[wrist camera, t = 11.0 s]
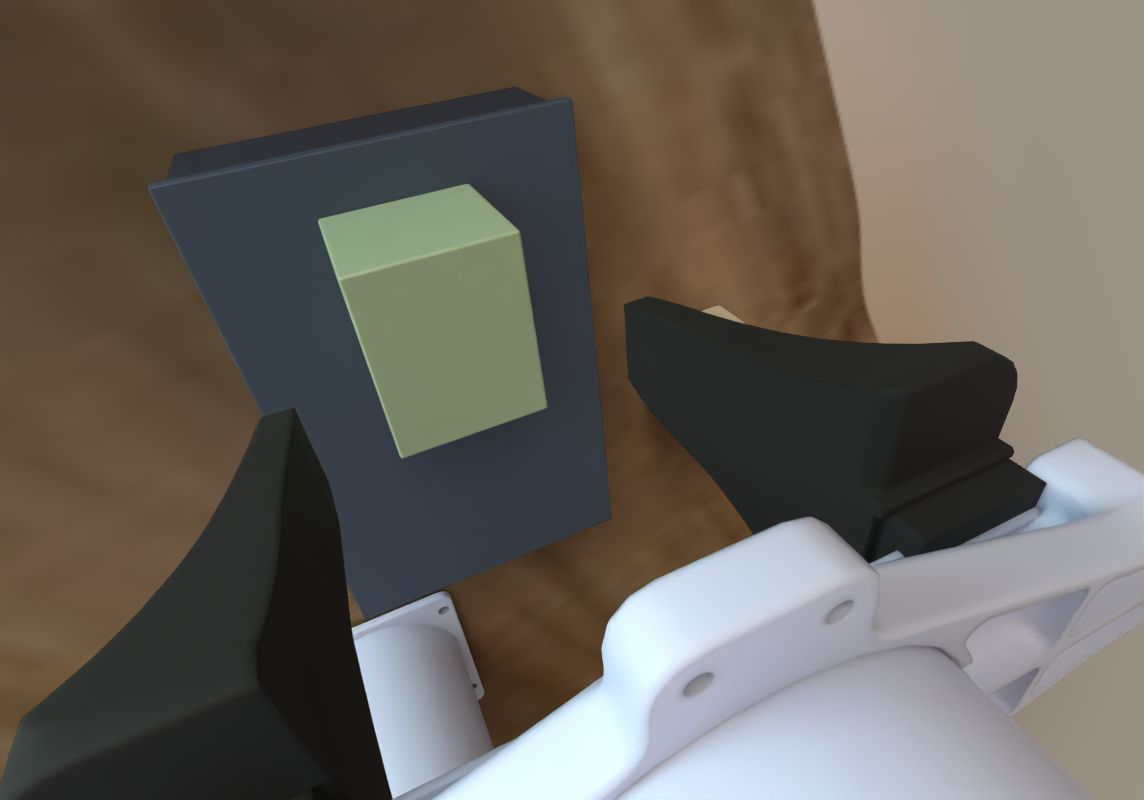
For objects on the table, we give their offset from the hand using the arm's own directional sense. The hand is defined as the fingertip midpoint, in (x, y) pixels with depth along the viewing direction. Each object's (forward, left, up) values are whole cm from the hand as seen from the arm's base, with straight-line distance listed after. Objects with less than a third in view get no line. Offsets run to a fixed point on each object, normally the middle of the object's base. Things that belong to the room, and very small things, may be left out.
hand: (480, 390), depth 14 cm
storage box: (-4, 0, -10) cm, 11 cm away
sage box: (0, 0, -6) cm, 6 cm away
